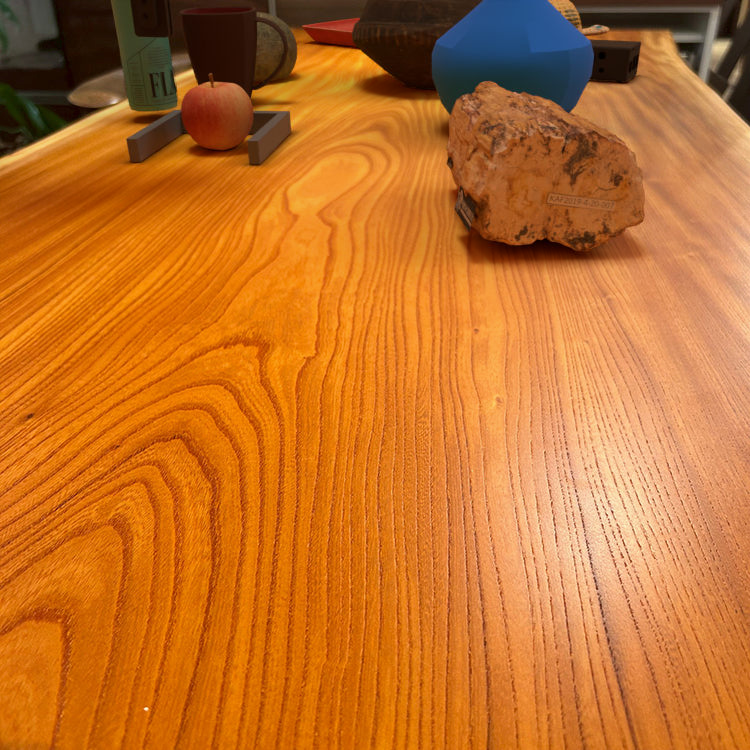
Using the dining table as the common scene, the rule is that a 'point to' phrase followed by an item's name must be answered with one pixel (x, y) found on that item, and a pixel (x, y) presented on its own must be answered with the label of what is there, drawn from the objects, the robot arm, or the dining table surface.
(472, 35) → the vase
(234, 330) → the dining table surface
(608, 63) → the electronic device
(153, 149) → the bay
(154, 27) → the robot arm
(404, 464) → the dining table surface
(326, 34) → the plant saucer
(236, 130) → the apple
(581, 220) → the petrified wood
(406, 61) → the ceramic pot
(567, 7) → the decorative figurine
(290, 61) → the grey green rounded stone
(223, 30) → the mug
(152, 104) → the beverage bottle
